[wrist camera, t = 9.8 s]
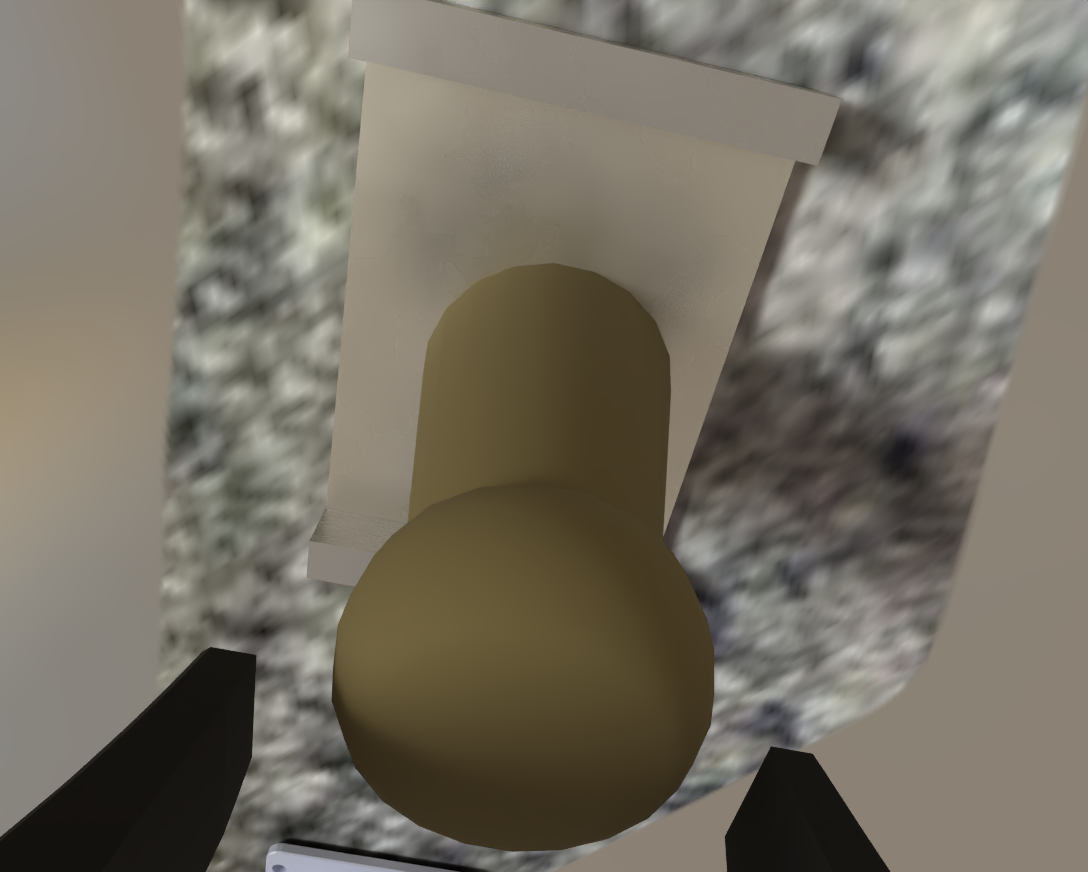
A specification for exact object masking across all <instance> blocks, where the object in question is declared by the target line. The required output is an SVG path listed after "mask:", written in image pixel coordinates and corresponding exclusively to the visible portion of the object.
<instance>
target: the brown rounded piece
mask: <svg viewBox="0 0 1088 872" xmlns="http://www.w3.org/2000/svg"><path fill="white" fill-rule="evenodd" d="M670 403H671V375H670V356H669V353H668V351H667V348H666V346H665V343H664V341H663V338H662V336H661V333H660V331H659V328H658V326H657V323H656V322H655V320H654V319H653V318H652V317H651V316H650V315H649V314H648V312H647V311H646V310H645V309H644V308H643V307H642V305H641V304H640V303H639V302H638V301H637V300H636V299H635V297H634V296H633V295H632V294H631V293H630V292H628V291H627V290H625V289H623V288H621V287H620V286H618V285H616V284H615V283H613V282H611V281H609V280H608V279H606V278H604V277H603V276H601V275H599V274H598V273H596V272H593V271H588V270H584V269H579V268H574V267H570V266H565V265H561V264H556V263H548V264H538V265H527V266H516V267H511V268H508V269H506V270H504V271H501V272H499V273H497V274H494V275H492V276H490V277H487V278H485V279H483V280H480V281H478V282H476V283H474V284H473V285H472V286H471V287H470V288H468V289H467V290H466V291H465V292H464V293H463V294H462V295H461V296H460V297H458V298H457V299H456V300H455V301H454V302H453V303H452V304H451V305H450V306H448V307H447V308H446V309H445V311H444V313H443V315H442V317H441V318H440V320H439V322H438V324H437V326H436V328H435V329H434V331H433V333H432V335H431V337H430V339H429V341H428V344H427V350H426V357H425V364H424V370H423V377H422V387H421V396H420V406H419V416H418V425H417V435H416V445H415V455H414V464H413V474H412V484H411V493H410V503H409V513H408V523H407V524H406V525H404V526H403V527H402V528H400V529H399V530H398V531H397V532H395V533H394V534H393V535H392V536H391V537H390V538H389V539H388V540H387V541H386V542H385V544H384V545H383V546H382V547H381V548H380V549H379V550H378V551H377V552H376V554H375V555H374V556H373V558H372V559H371V561H370V563H369V564H368V566H367V568H366V569H365V571H364V573H363V575H362V576H361V578H360V580H359V581H358V583H357V585H356V586H355V588H354V590H353V591H352V593H351V595H350V597H349V599H348V602H347V604H346V607H345V609H344V611H343V614H342V616H341V619H340V621H339V624H338V629H337V638H336V647H335V656H334V665H333V683H332V703H333V706H334V709H335V712H336V715H337V718H338V721H339V724H340V727H341V730H342V733H343V737H344V740H345V742H346V745H347V747H348V750H349V753H350V755H351V758H352V760H353V763H354V765H355V768H356V769H357V770H358V772H359V773H360V774H361V775H362V777H363V778H364V779H365V780H366V782H367V783H368V784H369V785H370V786H371V788H372V789H373V790H374V791H375V793H376V794H377V795H378V796H379V798H380V799H381V800H382V801H383V802H385V803H386V804H388V805H389V806H391V807H392V808H394V809H395V810H396V811H398V812H399V813H401V814H402V815H404V816H405V817H407V818H408V819H410V820H411V821H413V822H414V823H415V824H417V825H418V826H420V827H423V828H426V829H428V830H431V831H433V832H436V833H438V834H441V835H444V836H446V837H449V838H451V839H454V840H457V841H459V842H462V843H465V844H470V845H476V846H482V847H488V848H494V849H500V850H506V851H512V852H514V851H546V850H564V849H568V848H572V847H576V846H580V845H584V844H588V843H593V842H597V841H601V840H605V839H609V838H611V837H613V836H615V835H617V834H618V833H620V832H622V831H624V830H626V829H628V828H630V827H632V826H634V825H636V824H638V823H640V822H642V821H644V820H646V819H648V818H649V817H650V816H651V815H652V814H653V813H654V812H655V811H656V810H657V809H658V808H659V807H660V806H661V805H662V804H663V803H665V802H666V801H667V800H668V799H669V798H670V797H671V796H672V795H673V794H674V793H675V792H676V791H677V790H678V788H679V787H680V785H681V783H682V782H683V780H684V778H685V777H686V775H687V773H688V772H689V770H690V768H691V767H692V765H693V763H694V761H695V758H696V756H697V754H698V752H699V750H700V747H701V745H702V743H703V741H704V739H705V736H706V734H707V732H708V730H709V728H710V725H711V717H712V708H713V699H714V647H713V643H712V639H711V634H710V630H709V626H708V622H707V618H706V616H705V614H704V611H703V609H702V607H701V605H700V602H699V600H698V598H697V596H696V594H695V591H694V589H693V587H692V585H691V582H690V580H689V578H688V576H687V574H686V573H685V571H684V570H683V568H682V566H681V565H680V563H679V562H678V560H677V559H676V557H675V556H674V554H673V553H672V552H671V551H670V550H669V549H668V548H667V547H666V546H665V545H664V544H663V532H664V513H665V495H666V477H667V458H668V440H669V421H670Z"/></svg>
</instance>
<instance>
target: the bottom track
mask: <svg viewBox="0 0 1088 872" xmlns="http://www.w3.org/2000/svg"><path fill="white" fill-rule="evenodd" d="M348 57H350V58H354V59H358V60H363V61H367V62H366V73H365V84H364V95H363V106H362V117H361V128H360V139H359V150H358V162H357V173H356V184H355V195H354V206H353V217H352V228H351V239H350V250H349V261H348V273H347V284H346V295H345V306H344V317H343V328H342V339H341V350H340V361H339V372H338V384H337V395H336V406H335V417H334V428H333V439H332V450H331V461H330V472H329V483H328V495H327V506H326V509H325V511H324V513H323V515H322V517H321V519H320V521H319V523H318V525H317V527H316V529H315V531H314V533H313V535H312V537H311V539H310V543H309V555H308V568H307V578H311V579H316V580H322V581H327V582H333V583H338V584H343V585H349V586H354V587H355V586H356V585H357V583H358V581H359V580H360V578H361V576H362V575H363V573H364V571H365V569H366V568H367V566H368V564H369V563H370V561H371V559H372V558H373V556H374V555H375V554H376V552H377V551H378V550H379V549H380V548H381V547H382V546H383V545H384V544H385V542H386V541H387V540H388V539H389V538H390V537H391V536H392V535H393V534H394V533H395V532H397V531H398V530H399V529H400V528H402V527H403V526H404V525H406V524H407V523H408V513H409V503H410V493H411V484H412V474H413V464H414V455H415V445H416V435H417V425H418V416H419V406H420V396H421V387H422V377H423V370H424V364H425V357H426V350H427V344H428V341H429V339H430V337H431V335H432V333H433V331H434V329H435V328H436V326H437V324H438V322H439V320H440V318H441V317H442V315H443V313H444V311H445V309H446V308H447V307H448V306H450V305H451V304H452V303H453V302H454V301H455V300H456V299H457V298H458V297H460V296H461V295H462V294H463V293H464V292H465V291H466V290H467V289H468V288H470V287H471V286H472V285H473V284H474V283H476V282H478V281H480V280H483V279H485V278H487V277H490V276H492V275H494V274H497V273H499V272H501V271H504V270H506V269H508V268H511V267H516V266H527V265H538V264H548V263H556V264H561V265H565V266H570V267H574V268H579V269H584V270H588V271H593V272H596V273H598V274H599V275H601V276H603V277H604V278H606V279H608V280H609V281H611V282H613V283H615V284H616V285H618V286H620V287H621V288H623V289H625V290H627V291H628V292H630V293H631V294H632V295H633V296H634V297H635V299H636V300H637V301H638V302H639V303H640V304H641V305H642V307H643V308H644V309H645V310H646V311H647V312H648V314H649V315H650V316H651V317H652V318H653V319H654V320H655V322H656V323H657V326H658V328H659V331H660V333H661V336H662V338H663V341H664V343H665V346H666V348H667V351H668V353H669V356H670V375H671V403H670V421H669V440H668V458H667V477H666V495H665V513H664V532H663V536H664V533H665V531H666V528H667V525H668V522H669V519H670V516H671V513H672V511H673V508H674V505H675V502H676V499H677V496H678V494H679V491H680V488H681V485H682V482H683V479H684V476H685V474H686V471H687V468H688V465H689V462H690V459H691V457H692V454H693V451H694V448H695V445H696V442H697V440H698V437H699V434H700V431H701V428H702V425H703V422H704V420H705V417H706V414H707V411H708V408H709V405H710V403H711V400H712V397H713V394H714V391H715V388H716V385H717V383H718V380H719V377H720V374H721V371H722V368H723V366H724V363H725V360H726V357H727V354H728V351H729V348H730V346H731V343H732V340H733V337H734V334H735V331H736V329H737V326H738V323H739V320H740V317H741V314H742V312H743V309H744V306H745V303H746V300H747V297H748V294H749V292H750V289H751V286H752V283H753V280H754V277H755V275H756V272H757V269H758V266H759V263H760V260H761V257H762V255H763V252H764V249H765V246H766V243H767V240H768V238H769V235H770V232H771V229H772V226H773V223H774V221H775V218H776V215H777V212H778V209H779V206H780V203H781V201H782V198H783V195H784V192H785V189H786V186H787V184H788V181H789V178H790V175H791V172H792V169H793V166H794V164H795V161H799V162H803V163H807V164H811V165H816V166H818V164H819V161H820V158H821V156H822V153H823V150H824V148H825V145H826V142H827V139H828V137H829V134H830V131H831V128H832V126H833V123H834V120H835V117H836V115H837V112H838V109H839V107H840V104H841V101H842V99H840V98H837V97H834V96H831V95H829V94H826V93H823V92H820V91H817V90H814V89H811V88H807V87H802V86H798V85H794V84H790V83H786V82H781V81H777V80H773V79H769V78H765V77H760V76H756V75H752V74H748V73H744V72H739V71H735V70H731V69H727V68H723V67H719V66H714V65H710V64H706V63H702V62H698V61H693V60H689V59H685V58H681V57H677V56H672V55H668V54H664V53H660V52H656V51H651V50H647V49H643V48H639V47H635V46H631V45H626V44H622V43H618V42H614V41H610V40H605V39H601V38H597V37H593V36H589V35H584V34H580V33H576V32H572V31H568V30H563V29H559V28H555V27H551V26H547V25H543V24H538V23H534V22H530V21H526V20H522V19H517V18H513V17H509V16H505V15H501V14H496V13H492V12H488V11H484V10H480V9H475V8H471V7H467V6H463V5H459V4H455V3H450V2H446V1H442V0H353V2H352V14H351V27H350V40H349V52H348Z"/></svg>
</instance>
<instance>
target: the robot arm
mask: <svg viewBox="0 0 1088 872" xmlns="http://www.w3.org/2000/svg"><path fill="white" fill-rule="evenodd" d="M255 672H256V655H253V654H247V653H241V652H236V651H230V650H224V649H219V648H213V647H210V648H208V649H206V650H205V651H203V652H201V654H200V655H199V656H198V657H197V658H196V659H195V660H194V661H193V662H192V663H191V664H190V665H189V666H188V667H187V668H186V669H185V670H184V671H183V672H182V673H181V674H180V675H179V676H178V677H177V678H176V679H175V680H174V681H173V682H172V683H171V684H170V685H169V686H168V687H167V688H166V689H165V690H164V691H163V692H162V693H161V694H160V695H159V696H158V697H157V698H156V699H155V700H154V701H153V702H152V703H151V704H150V705H149V706H148V707H147V708H146V709H145V710H144V711H143V712H142V713H141V714H140V715H139V716H138V717H137V718H136V719H135V720H134V721H132V723H130V724H129V725H128V726H127V727H126V728H125V729H124V730H123V731H122V732H121V733H120V734H119V735H118V736H116V737H115V738H114V739H113V740H112V741H111V742H110V743H109V744H108V745H107V746H105V747H104V748H103V749H102V750H101V751H100V752H99V753H98V754H97V755H96V756H94V757H93V758H92V759H91V760H90V761H89V762H88V763H87V764H86V765H84V766H83V768H81V769H80V770H79V771H78V772H77V773H76V774H75V775H74V776H72V777H71V778H70V779H69V780H68V781H67V782H66V783H64V784H63V785H62V786H61V787H60V788H59V789H57V790H56V791H55V792H54V793H53V794H52V795H50V796H49V797H48V798H47V799H45V800H44V801H43V802H42V803H41V804H39V805H38V806H37V807H36V808H35V809H33V810H32V811H31V812H30V813H29V814H27V815H26V816H25V817H24V818H23V819H21V820H20V821H19V822H18V823H17V824H15V825H14V826H13V827H12V828H11V829H9V830H8V831H7V832H6V833H5V834H3V835H2V836H1V837H0V872H206V870H207V868H208V866H209V864H210V862H211V860H212V857H213V855H214V853H215V851H216V849H217V847H218V845H219V843H220V841H221V839H222V836H223V834H224V832H225V829H226V827H227V824H228V821H229V818H230V816H231V813H232V810H233V808H234V805H235V802H236V800H237V797H238V794H239V791H240V789H241V786H242V783H243V780H244V777H245V775H246V772H247V769H248V766H249V763H250V761H251V758H252V741H253V718H254V695H255ZM725 845H726V861H727V872H890V870H889V869H888V867H887V866H886V864H885V863H884V861H883V860H882V859H881V857H880V856H879V854H878V852H877V851H876V849H875V848H874V846H873V845H872V843H871V842H870V840H869V839H868V838H867V836H866V834H865V833H864V831H863V830H862V828H861V827H860V825H859V824H858V822H857V821H856V819H855V818H854V816H853V814H852V813H851V811H850V810H849V808H848V807H847V805H846V804H845V802H844V801H843V799H842V798H841V796H840V795H839V793H838V791H837V790H836V788H835V787H834V785H833V784H832V782H831V781H830V779H829V778H828V776H827V774H826V773H825V771H824V770H823V768H822V767H821V765H820V764H819V763H818V761H817V760H816V758H815V756H814V755H813V754H811V753H805V752H800V751H794V750H788V749H783V748H777V747H771V748H770V750H769V752H768V754H767V755H766V757H765V759H764V761H763V763H762V765H761V767H760V769H759V771H758V773H757V775H756V777H755V779H754V781H753V783H752V785H751V787H750V789H749V791H748V793H747V795H746V797H745V798H744V800H743V802H742V804H741V806H740V808H739V810H738V812H737V814H736V816H735V818H734V820H733V822H732V824H731V826H730V828H729V830H728V831H727V834H726V835H725ZM266 872H459V871H453V870H447V869H440V868H434V867H428V866H422V865H416V864H410V863H403V862H397V861H391V860H385V859H379V858H373V857H366V856H360V855H354V854H348V853H342V852H336V851H329V850H323V849H317V848H311V847H305V846H299V845H292V844H286V843H277V844H274V845H272V846H271V847H270V849H269V852H268V855H267V859H266Z"/></svg>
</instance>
